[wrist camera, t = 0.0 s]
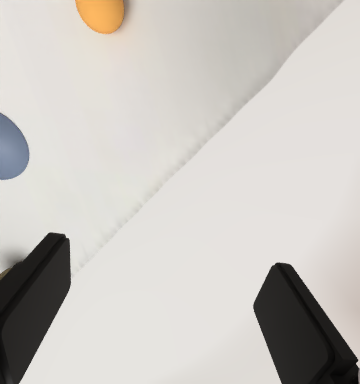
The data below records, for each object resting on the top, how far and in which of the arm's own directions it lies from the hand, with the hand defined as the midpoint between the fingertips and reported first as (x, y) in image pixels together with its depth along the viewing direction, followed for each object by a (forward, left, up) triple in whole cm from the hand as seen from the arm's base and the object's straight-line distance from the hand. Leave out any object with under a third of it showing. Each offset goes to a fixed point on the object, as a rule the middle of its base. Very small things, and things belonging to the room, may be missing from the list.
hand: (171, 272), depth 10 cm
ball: (-4, -20, -28) cm, 35 cm away
